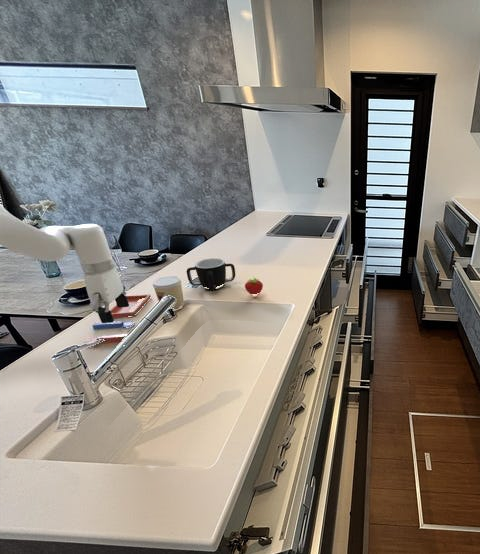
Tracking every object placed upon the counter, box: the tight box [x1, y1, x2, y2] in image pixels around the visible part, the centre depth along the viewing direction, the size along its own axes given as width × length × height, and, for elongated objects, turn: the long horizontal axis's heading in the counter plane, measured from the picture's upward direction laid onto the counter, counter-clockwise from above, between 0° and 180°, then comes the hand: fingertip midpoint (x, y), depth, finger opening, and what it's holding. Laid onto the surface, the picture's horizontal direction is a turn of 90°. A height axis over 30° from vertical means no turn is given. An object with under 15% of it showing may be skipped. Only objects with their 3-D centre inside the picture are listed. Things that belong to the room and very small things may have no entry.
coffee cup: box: [152, 276, 185, 311], centre depth 121 cm, size 9×9×12 cm
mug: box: [186, 258, 236, 291], centre depth 140 cm, size 16×16×12 cm
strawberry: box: [244, 277, 264, 295], centre depth 133 cm, size 6×8×10 cm
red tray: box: [109, 294, 152, 319], centre depth 121 cm, size 9×15×2 cm, turn 13°
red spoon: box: [84, 333, 128, 344], centre depth 101 cm, size 12×4×2 cm, turn 103°
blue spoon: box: [91, 320, 135, 331], centre depth 109 cm, size 12×4×2 cm, turn 103°
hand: (116, 314), depth 99 cm, fingers open, 9 cm apart
